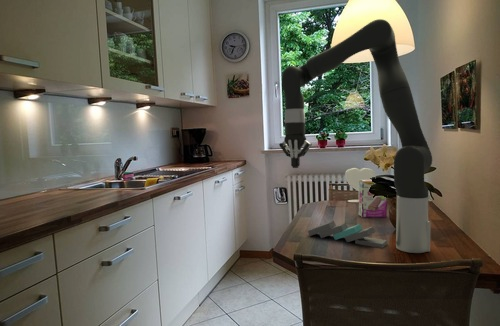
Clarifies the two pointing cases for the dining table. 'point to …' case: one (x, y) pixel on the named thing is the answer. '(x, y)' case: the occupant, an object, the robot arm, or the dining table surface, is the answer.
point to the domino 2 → (333, 230)
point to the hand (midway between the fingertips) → (295, 167)
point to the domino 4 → (360, 234)
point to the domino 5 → (371, 242)
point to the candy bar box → (370, 202)
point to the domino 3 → (348, 232)
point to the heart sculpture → (358, 178)
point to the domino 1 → (321, 228)
